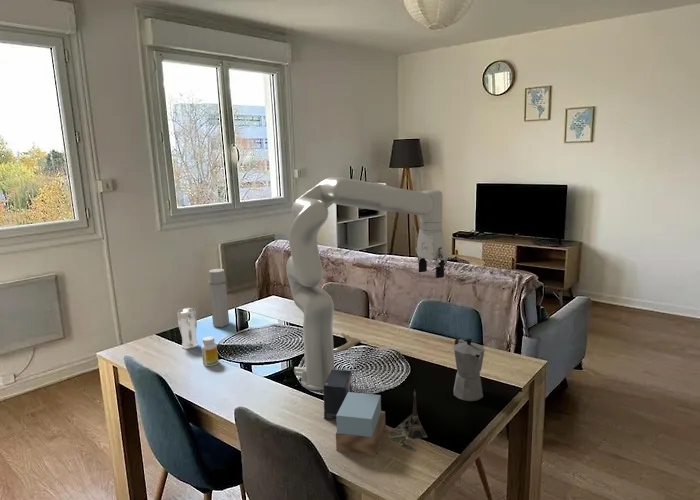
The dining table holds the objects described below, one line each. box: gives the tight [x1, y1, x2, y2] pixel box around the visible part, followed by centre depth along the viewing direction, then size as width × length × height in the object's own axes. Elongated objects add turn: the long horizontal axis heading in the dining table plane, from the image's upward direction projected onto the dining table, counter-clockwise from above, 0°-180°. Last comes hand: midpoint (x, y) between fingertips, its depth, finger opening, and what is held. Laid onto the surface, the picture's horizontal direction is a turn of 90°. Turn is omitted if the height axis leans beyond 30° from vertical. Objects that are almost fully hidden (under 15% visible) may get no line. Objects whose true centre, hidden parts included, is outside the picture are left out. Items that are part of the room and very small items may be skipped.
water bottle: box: [207, 268, 230, 328], centre depth 214 cm, size 9×8×25 cm
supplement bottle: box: [200, 335, 219, 367], centre depth 176 cm, size 5×5×10 cm
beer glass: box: [176, 307, 199, 350], centre depth 192 cm, size 7×7×15 cm
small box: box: [322, 369, 353, 421], centre depth 140 cm, size 11×6×10 cm, turn 168°
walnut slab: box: [335, 410, 386, 456], centre depth 127 cm, size 10×13×5 cm
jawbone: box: [334, 332, 361, 354], centre depth 187 cm, size 9×20×2 cm, turn 164°
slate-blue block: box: [335, 391, 382, 437], centre depth 126 cm, size 9×12×5 cm
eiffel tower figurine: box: [388, 390, 428, 452], centre depth 129 cm, size 15×10×13 cm
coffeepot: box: [453, 337, 485, 402], centre depth 148 cm, size 15×9×18 cm, turn 13°
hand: (431, 274), depth 170 cm, fingers open, 9 cm apart
